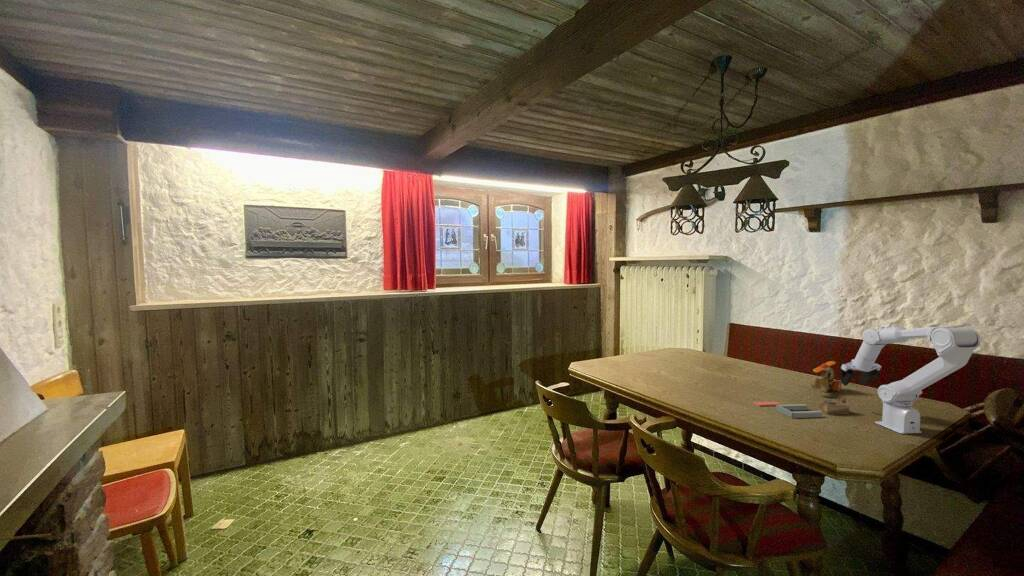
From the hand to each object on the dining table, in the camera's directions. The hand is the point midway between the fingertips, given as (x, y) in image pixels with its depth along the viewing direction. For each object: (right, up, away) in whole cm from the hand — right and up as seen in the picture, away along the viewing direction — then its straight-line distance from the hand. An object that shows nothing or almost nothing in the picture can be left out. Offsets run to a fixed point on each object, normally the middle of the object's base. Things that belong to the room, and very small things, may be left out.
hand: (852, 383), depth 160 cm
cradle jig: (-23, -11, -3) cm, 26 cm away
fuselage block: (-9, -11, -2) cm, 15 cm away
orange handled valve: (+5, -9, +22) cm, 24 cm away
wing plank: (-30, -11, +7) cm, 33 cm away
